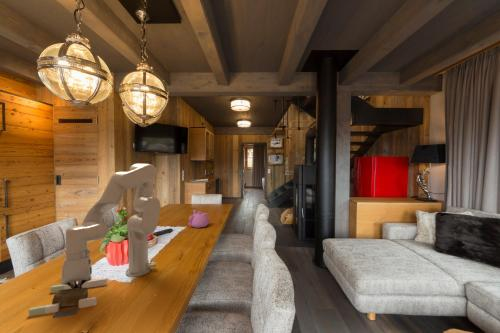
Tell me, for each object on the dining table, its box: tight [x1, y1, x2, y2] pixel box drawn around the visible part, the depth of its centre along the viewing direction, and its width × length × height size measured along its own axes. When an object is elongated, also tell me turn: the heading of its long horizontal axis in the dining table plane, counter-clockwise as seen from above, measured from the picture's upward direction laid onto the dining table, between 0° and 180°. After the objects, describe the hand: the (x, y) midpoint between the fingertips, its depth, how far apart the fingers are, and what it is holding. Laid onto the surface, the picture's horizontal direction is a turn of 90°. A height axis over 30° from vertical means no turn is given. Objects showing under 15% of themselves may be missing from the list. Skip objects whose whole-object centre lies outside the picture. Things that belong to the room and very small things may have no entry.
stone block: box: [51, 288, 89, 308], centre depth 94 cm, size 6×12×5 cm, turn 108°
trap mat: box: [52, 307, 81, 319], centre depth 88 cm, size 8×4×1 cm, turn 110°
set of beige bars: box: [28, 277, 108, 318], centre depth 98 cm, size 22×18×3 cm
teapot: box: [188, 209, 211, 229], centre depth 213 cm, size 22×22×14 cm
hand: (77, 295), depth 98 cm, fingers closed
